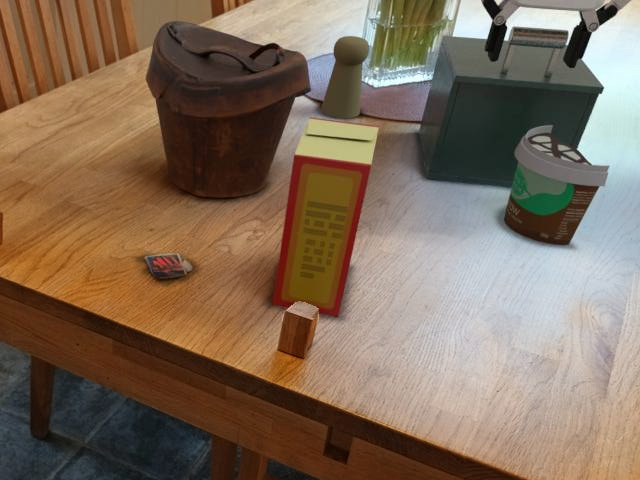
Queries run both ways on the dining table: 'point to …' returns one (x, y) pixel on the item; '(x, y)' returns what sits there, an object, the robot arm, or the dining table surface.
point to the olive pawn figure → (346, 78)
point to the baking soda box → (323, 212)
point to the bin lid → (521, 62)
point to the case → (221, 106)
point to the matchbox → (167, 265)
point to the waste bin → (491, 125)
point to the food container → (550, 188)
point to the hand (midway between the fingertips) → (530, 60)
